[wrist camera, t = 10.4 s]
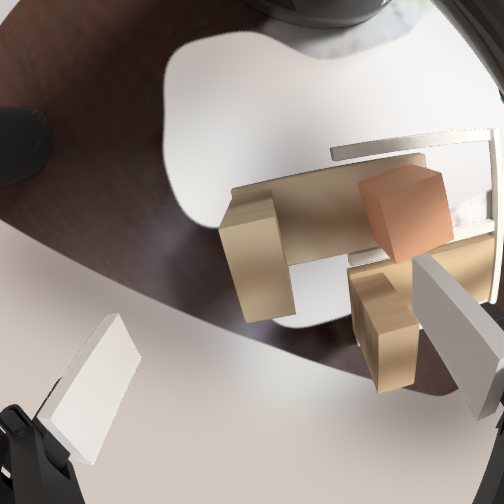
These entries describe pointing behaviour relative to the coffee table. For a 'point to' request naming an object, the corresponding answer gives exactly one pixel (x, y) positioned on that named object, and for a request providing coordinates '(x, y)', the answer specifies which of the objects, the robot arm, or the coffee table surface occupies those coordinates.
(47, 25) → the coffee table surface
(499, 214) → the lane rails
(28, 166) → the travel mug
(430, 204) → the cube
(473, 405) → the robot arm
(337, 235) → the wooden slider
